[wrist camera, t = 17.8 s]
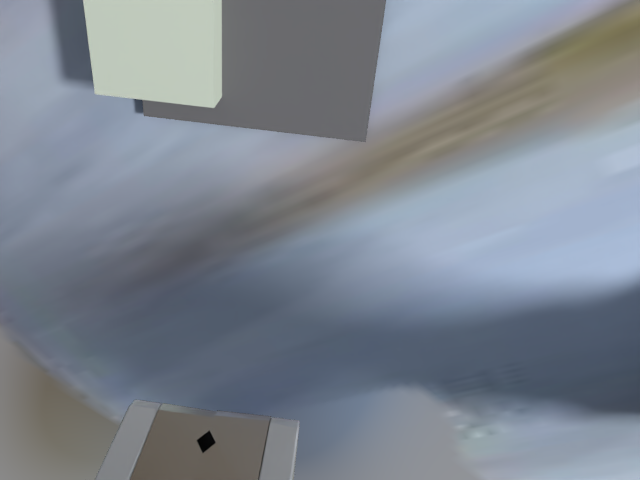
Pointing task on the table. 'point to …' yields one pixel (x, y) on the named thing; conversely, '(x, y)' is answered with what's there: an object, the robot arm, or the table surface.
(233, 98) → the mat
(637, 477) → the table surface
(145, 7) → the block
